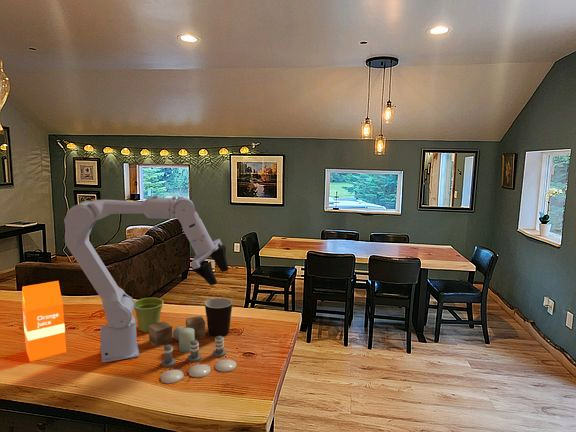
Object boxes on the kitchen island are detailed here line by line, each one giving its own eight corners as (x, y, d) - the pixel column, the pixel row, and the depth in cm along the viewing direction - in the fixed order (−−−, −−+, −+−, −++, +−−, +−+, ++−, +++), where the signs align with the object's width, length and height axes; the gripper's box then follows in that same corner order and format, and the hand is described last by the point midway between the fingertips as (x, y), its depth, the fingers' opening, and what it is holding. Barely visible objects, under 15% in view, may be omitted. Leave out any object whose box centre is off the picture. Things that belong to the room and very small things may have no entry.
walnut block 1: (156, 347, 115) (156, 331, 114) (149, 341, 119) (148, 325, 118) (172, 341, 118) (172, 326, 118) (164, 336, 122) (164, 321, 121)
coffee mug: (226, 340, 120) (226, 309, 118) (200, 337, 122) (200, 306, 120) (239, 324, 131) (239, 296, 130) (214, 321, 133) (214, 293, 131)
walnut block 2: (188, 339, 120) (188, 324, 119) (186, 333, 124) (185, 318, 124) (205, 337, 122) (205, 322, 121) (201, 330, 126) (201, 315, 126)
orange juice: (25, 350, 111) (19, 283, 108) (61, 341, 117) (56, 277, 114) (29, 362, 105) (23, 290, 102) (66, 352, 111) (61, 284, 108)
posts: (162, 368, 104) (161, 350, 103) (160, 361, 107) (160, 344, 106) (227, 355, 111) (227, 339, 110) (224, 349, 114) (223, 333, 113)
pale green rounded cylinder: (180, 353, 112) (180, 335, 111) (178, 346, 115) (177, 329, 115) (196, 350, 113) (195, 332, 112) (193, 344, 117) (192, 326, 116)
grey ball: (174, 343, 117) (173, 331, 117) (172, 337, 121) (172, 325, 120) (187, 341, 119) (187, 328, 118) (185, 335, 122) (185, 323, 122)
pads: (161, 385, 96) (161, 383, 96) (159, 373, 101) (159, 372, 101) (238, 369, 104) (238, 367, 104) (233, 359, 109) (233, 357, 109)
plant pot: (167, 322, 132) (166, 297, 130) (159, 335, 123) (158, 308, 121) (139, 322, 132) (138, 297, 130) (129, 334, 122) (127, 308, 121)
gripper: (196, 245, 104) (219, 287, 107) (221, 223, 116) (240, 262, 120) (176, 251, 106) (199, 293, 110) (202, 229, 119) (222, 267, 123)
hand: (219, 277), depth 115 cm, fingers open, 7 cm apart
